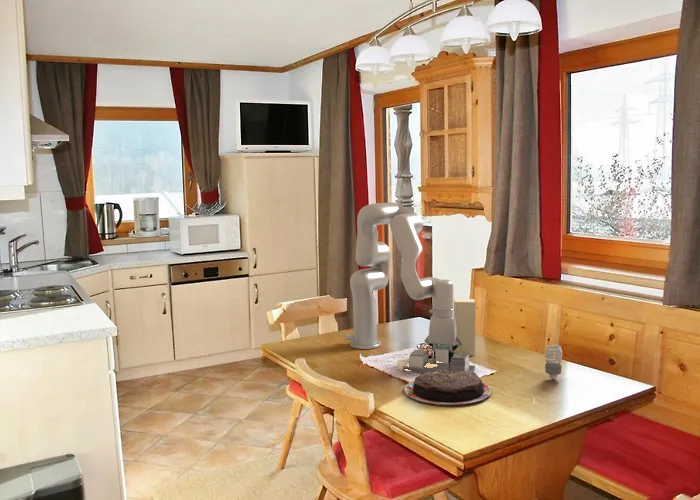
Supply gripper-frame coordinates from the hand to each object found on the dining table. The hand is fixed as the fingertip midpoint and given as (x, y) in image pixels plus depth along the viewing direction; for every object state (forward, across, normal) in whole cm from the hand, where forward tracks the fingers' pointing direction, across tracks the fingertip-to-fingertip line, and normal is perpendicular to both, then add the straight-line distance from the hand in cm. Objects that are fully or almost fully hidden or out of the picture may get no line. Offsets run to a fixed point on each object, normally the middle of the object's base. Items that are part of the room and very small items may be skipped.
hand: (443, 360), depth 247 cm
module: (0, 0, 0) cm, 0 cm away
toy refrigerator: (+1, +5, +14) cm, 15 cm away
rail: (0, +1, -11) cm, 11 cm away
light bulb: (+1, +40, -10) cm, 41 cm away
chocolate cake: (+1, +9, -33) cm, 34 cm away
